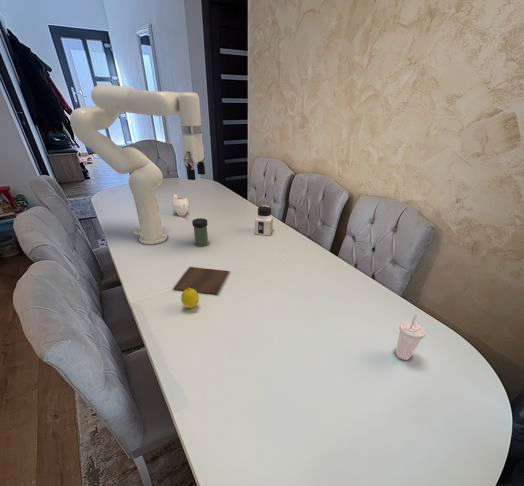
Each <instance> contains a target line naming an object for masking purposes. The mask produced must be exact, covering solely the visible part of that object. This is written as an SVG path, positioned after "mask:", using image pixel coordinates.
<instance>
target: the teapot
mask: <svg viewBox="0 0 524 486" xmlns="http://www.w3.org/2000/svg"><path fill="white" fill-rule="evenodd" d="M172 196H173V199H172V201H171V207H172V209H173V210H174V212H176V214H177V216H181V217H183V216H185V215H187V211H188V210H189V208H190V201H189V200H188V198H186V197H185V196H181V195H179V196H178V195H177V193H175V192H174V193H172Z"/></svg>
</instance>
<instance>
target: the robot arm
mask: <svg viewBox="0 0 524 486" xmlns="http://www.w3.org/2000/svg"><path fill="white" fill-rule="evenodd" d="M90 98H91V100H92V102H93V104H94V105H95V106H94V105H93V106H82V107H77V108H75V109H74V110H73V111H71V113H70V116H69V122H70V127H71V129H72V131H73V134H74V135H75V137H76V138H77V139H78V141H80V142H81V144H83V145H84V146H85V147H86V148H88V149H89V150H90V151H92V152H93V153H94V154H96V155H97V157H99V158H100V159H101V160H102V161H103V162H104V163H106V164H107V166H109V167H110V168H111V169H112V170H114V171H115V172H117V173H118V174H120V175H126V174H129V173H130V174H129V177H128V185H129V188H130V191H131V193H132V196H133V200H134V204H135V208H136V214H137V217H138V223H139V228H134V229H133V230H134V231H133V232H134V233H133V234H134V235H138V239H139V242H140V243H141V244H144V245H157V244H160V243H163V242H165V241H166V240H167V239H168V235H167V234H166V233H165V232H164V231H163V224H162V218H161V213H160V206H159V201H158V198H157V196H156V193H155V191H154V190H155V189H156V188H158V187H159V186H161V184H162V183H163V181H164V175H163V173H162V170H161V169H160V168H159V167H158V166H157V164H155V163H154V162H153V161H151V160H150V158H149V157H147V156H146V155H145V154H144V153H143V152H142V151H140V150H139V149H137V148H136V147H132V146H126V147H120V146H119V145H118V144H117V143H115V142H114V141H113V140H112V139H111V138H109V137H108V136H107V135H105V134H103V133H101V132H100V131H101V130H106V129H109V128H111V126H112V125H113V124H114V123H116V121H117V119H118V118H119V116H120V115H121V114H122V113H127V114H135V115H145V116H154V117H169V116H175V115H179V117H180V118H179V119H180V125H181V136H182V144H181V145H182V158H183V159H182V160H183V163H184V167H185V170H186V176H187V177H186V178H187V180H188V181H195V180H196V179H197V178H196V170H197V175H206V166H205V164H206V162H205V159H206V158H205V155H206V154H205V150H204V149H205V148H204V143H203V137H202V136H203V128H202V126H203V125H202V116H201V115H202V114H201V107H200V106H201V103H200V95H199V94H198V93H197V92H189V91H188V92H187V91H186V92H178V91H177V92H176V91H170V90H169V91H167V90H164V91H157V90H145V89H143V90H142V89H137V88H135V86H126V85H125V86H124V85H116V84H98V85H95V86H94V87H93V88H92V90H91V93H90ZM195 164H196V170H195Z"/></svg>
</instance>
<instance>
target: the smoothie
mask: <svg viewBox="0 0 524 486" xmlns="http://www.w3.org/2000/svg"><path fill="white" fill-rule="evenodd" d="M417 317H418V315H417V314H414V315H413V317H412V320H404V321H402V322H401V323H400V324H399V326H398V330H399V331H398V332H399V333H398V339H397V344H396V350H395V356H397V358H399V359H400V360H403V361H407V360H410V358H411V357H412V355H413V354H414V352H415V351H416V349H417V347H418V345H419V344H420V342H421V340H422V339H424V338H426V333H427V331H426V328H425V327H424V326H423V325H421V324H420V323H419V322H417V321H416V319H417Z"/></svg>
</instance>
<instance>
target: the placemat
mask: <svg viewBox="0 0 524 486" xmlns="http://www.w3.org/2000/svg"><path fill="white" fill-rule="evenodd" d="M229 273H230V272H229V270H223V269H222V270H221V269H213V268H202V267H195V266H189V267H188V269H187V270H186V272H185V273H184V274H183V275H182V277H181V278H180V279H179V280H178V282H177V283H176V285H175V286H174V287H173V290H174V291H184V290H186V289H187V288H191V289H194V290H196V292H197V293H198V294H207V295H215V296H217V295H218V294H219V292H220V291H221V288H222V286H223V285H224V283H225V281H226V278H227V276H228V274H229Z"/></svg>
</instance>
